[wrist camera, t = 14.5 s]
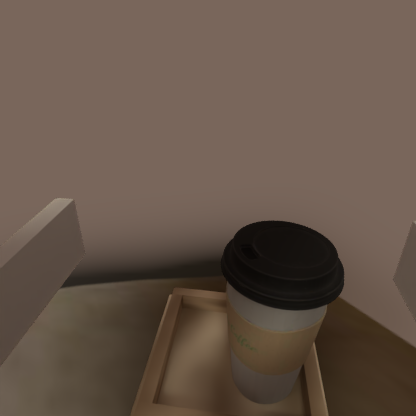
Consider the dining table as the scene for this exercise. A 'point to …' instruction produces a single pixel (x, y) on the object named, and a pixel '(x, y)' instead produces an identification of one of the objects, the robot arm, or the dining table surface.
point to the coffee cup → (276, 303)
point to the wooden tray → (210, 367)
